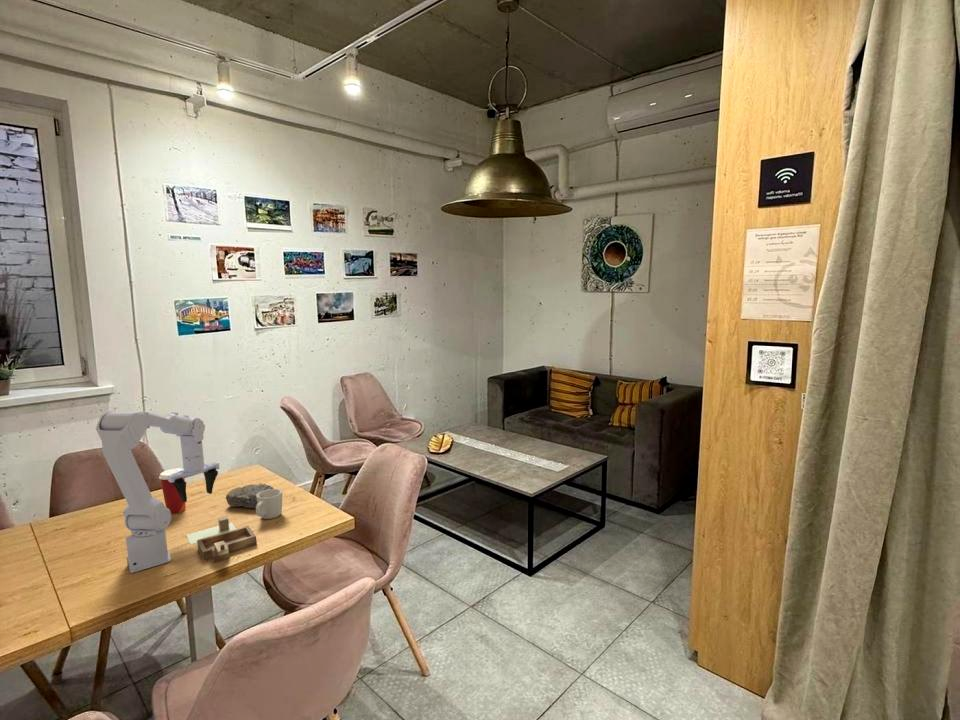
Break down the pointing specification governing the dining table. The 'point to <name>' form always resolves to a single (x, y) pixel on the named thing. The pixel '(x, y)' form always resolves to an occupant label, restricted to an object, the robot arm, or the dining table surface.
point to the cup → (269, 503)
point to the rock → (246, 495)
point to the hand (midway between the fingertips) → (197, 497)
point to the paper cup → (171, 492)
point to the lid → (212, 530)
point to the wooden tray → (232, 540)
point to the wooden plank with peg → (221, 548)
